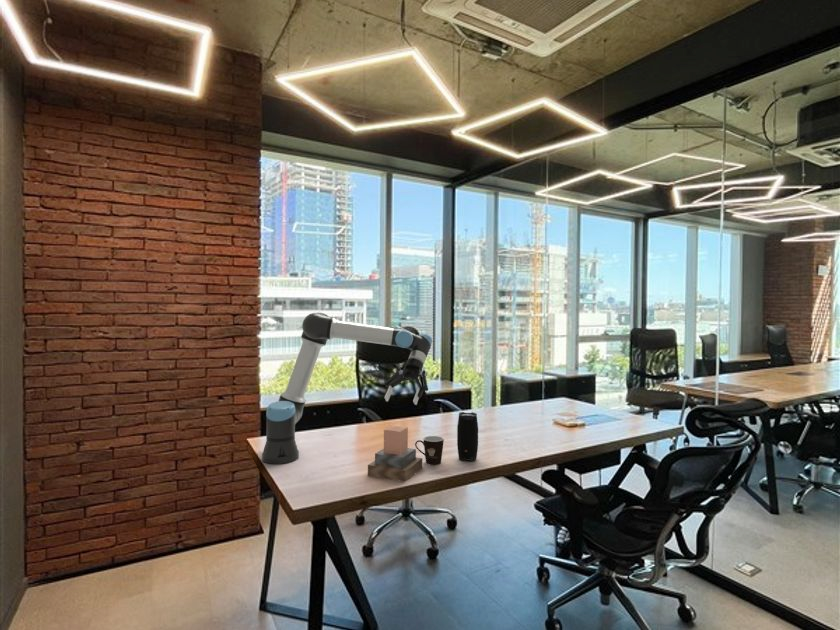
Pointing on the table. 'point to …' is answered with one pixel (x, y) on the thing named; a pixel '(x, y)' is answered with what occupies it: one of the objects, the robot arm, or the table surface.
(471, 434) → the portable speaker
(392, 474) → the block tower
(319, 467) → the table surface
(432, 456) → the coffee mug
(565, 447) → the table surface
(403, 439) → the terracotta brick
